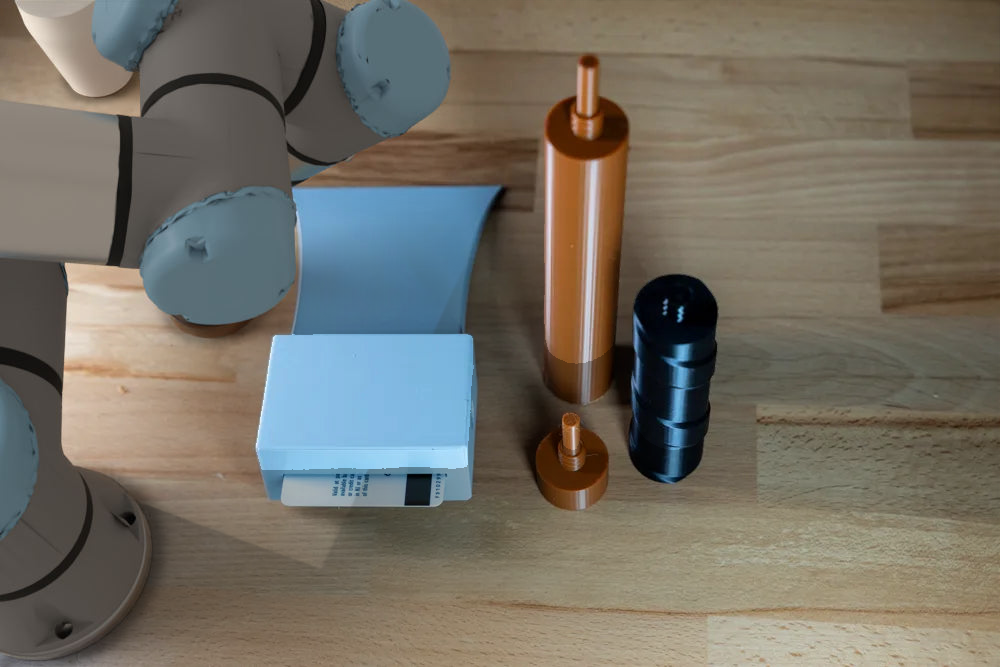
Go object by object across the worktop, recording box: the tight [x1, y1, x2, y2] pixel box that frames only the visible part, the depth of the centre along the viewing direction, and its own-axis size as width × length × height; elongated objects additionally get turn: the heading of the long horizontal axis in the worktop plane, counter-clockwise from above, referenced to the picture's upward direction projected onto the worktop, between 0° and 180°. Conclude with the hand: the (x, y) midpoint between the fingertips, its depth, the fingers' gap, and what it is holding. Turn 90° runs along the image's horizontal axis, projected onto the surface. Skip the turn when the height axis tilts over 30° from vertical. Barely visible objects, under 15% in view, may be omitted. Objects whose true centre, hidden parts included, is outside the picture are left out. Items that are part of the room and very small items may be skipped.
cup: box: [14, 0, 134, 98], centre depth 115 cm, size 9×9×12 cm
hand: (145, 209), depth 97 cm, fingers closed on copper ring, 8 cm apart
